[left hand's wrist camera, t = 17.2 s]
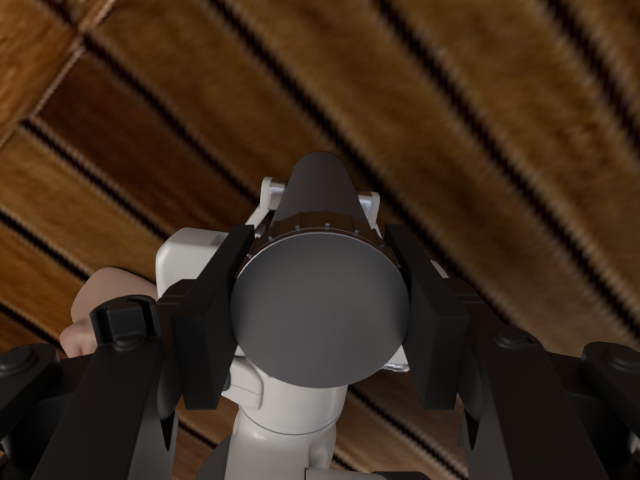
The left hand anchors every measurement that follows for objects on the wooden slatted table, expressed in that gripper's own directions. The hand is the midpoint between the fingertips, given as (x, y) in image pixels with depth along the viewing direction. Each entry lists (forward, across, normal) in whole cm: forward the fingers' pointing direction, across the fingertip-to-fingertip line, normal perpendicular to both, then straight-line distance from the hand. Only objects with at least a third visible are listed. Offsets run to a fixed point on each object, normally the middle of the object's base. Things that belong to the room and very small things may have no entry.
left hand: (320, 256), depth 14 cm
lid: (-4, 0, 0) cm, 4 cm away
